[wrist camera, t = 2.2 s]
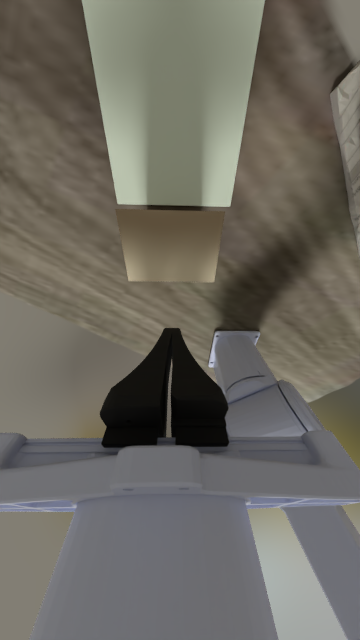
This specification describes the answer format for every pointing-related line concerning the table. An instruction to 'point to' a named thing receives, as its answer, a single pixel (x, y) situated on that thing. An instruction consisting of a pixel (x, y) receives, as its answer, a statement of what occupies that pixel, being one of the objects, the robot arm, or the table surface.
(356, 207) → the packaged product
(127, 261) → the birch block
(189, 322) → the table surface
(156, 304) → the table surface
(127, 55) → the mat
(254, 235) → the table surface
